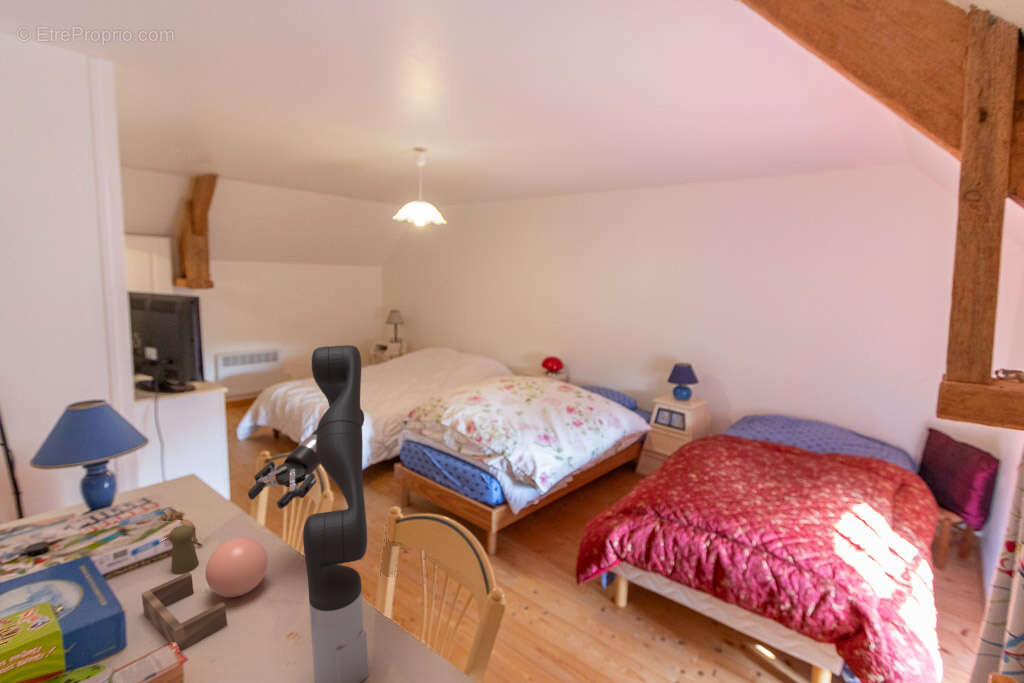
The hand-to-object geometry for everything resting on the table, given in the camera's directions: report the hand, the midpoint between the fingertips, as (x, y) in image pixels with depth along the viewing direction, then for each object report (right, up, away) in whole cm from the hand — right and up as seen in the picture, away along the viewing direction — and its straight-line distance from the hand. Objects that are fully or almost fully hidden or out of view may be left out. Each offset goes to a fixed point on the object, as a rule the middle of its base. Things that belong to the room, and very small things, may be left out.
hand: (264, 501), depth 116 cm
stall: (-14, -24, -8) cm, 28 cm away
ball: (-7, -16, 0) cm, 17 cm away
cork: (-26, -21, +11) cm, 35 cm away
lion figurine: (-35, -19, +22) cm, 45 cm away
